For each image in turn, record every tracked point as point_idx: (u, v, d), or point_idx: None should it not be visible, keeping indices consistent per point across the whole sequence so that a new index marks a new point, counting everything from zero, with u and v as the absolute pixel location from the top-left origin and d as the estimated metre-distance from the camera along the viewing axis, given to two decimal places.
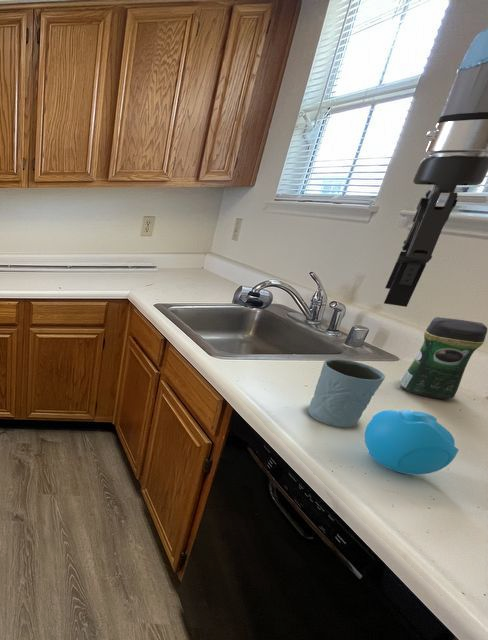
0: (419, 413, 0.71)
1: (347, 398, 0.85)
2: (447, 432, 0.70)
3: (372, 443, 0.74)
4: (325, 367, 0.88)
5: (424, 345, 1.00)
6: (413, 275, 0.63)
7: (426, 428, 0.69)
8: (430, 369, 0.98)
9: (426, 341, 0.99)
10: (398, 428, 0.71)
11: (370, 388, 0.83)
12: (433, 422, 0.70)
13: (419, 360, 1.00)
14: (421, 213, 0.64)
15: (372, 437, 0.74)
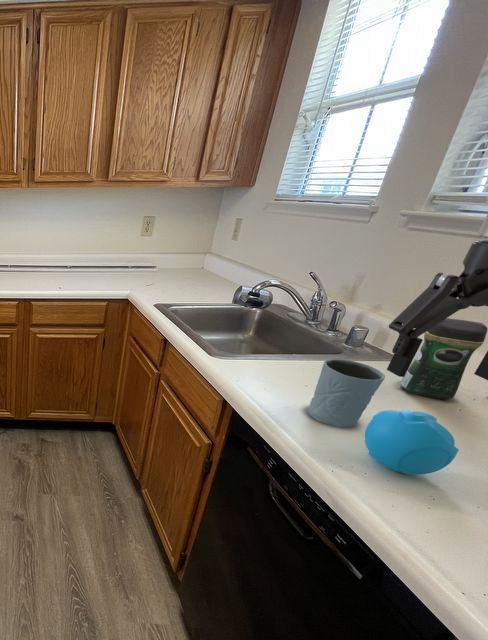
0: (419, 413, 0.71)
1: (347, 398, 0.85)
2: (447, 432, 0.70)
3: (372, 443, 0.74)
4: (325, 367, 0.88)
5: (424, 345, 1.00)
6: (400, 346, 0.67)
7: (426, 428, 0.69)
8: (430, 369, 0.98)
9: (426, 341, 0.99)
10: (398, 428, 0.71)
11: (370, 388, 0.83)
12: (433, 422, 0.70)
13: (419, 360, 1.00)
14: (451, 292, 0.64)
15: (372, 437, 0.74)
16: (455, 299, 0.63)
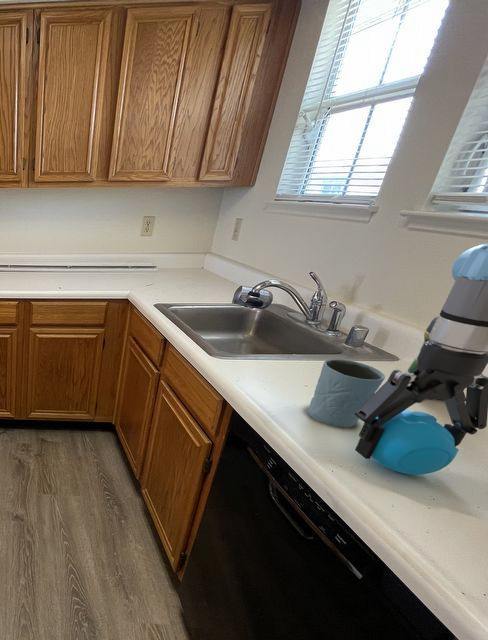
0: (419, 413, 0.71)
1: (347, 398, 0.85)
2: (447, 432, 0.70)
3: None
4: (325, 367, 0.88)
5: None
6: (365, 432, 0.73)
7: (426, 428, 0.69)
8: None
9: (426, 341, 0.99)
10: (398, 428, 0.71)
11: (370, 388, 0.83)
12: (433, 422, 0.70)
13: None
14: None
15: None
16: (411, 393, 0.70)
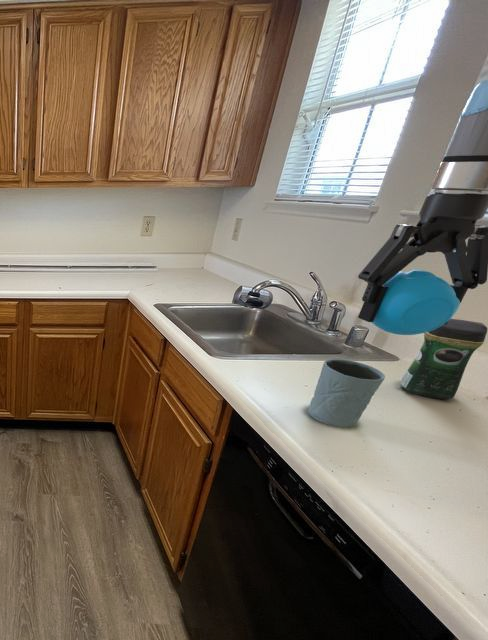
0: (421, 270, 0.72)
1: (347, 398, 0.85)
2: (449, 286, 0.70)
3: None
4: (325, 367, 0.88)
5: (424, 345, 1.00)
6: (369, 293, 0.74)
7: (429, 281, 0.70)
8: (430, 369, 0.98)
9: (426, 341, 0.99)
10: (401, 285, 0.72)
11: (370, 388, 0.83)
12: (435, 278, 0.71)
13: (419, 360, 1.00)
14: (409, 241, 0.72)
15: None
16: (413, 247, 0.70)
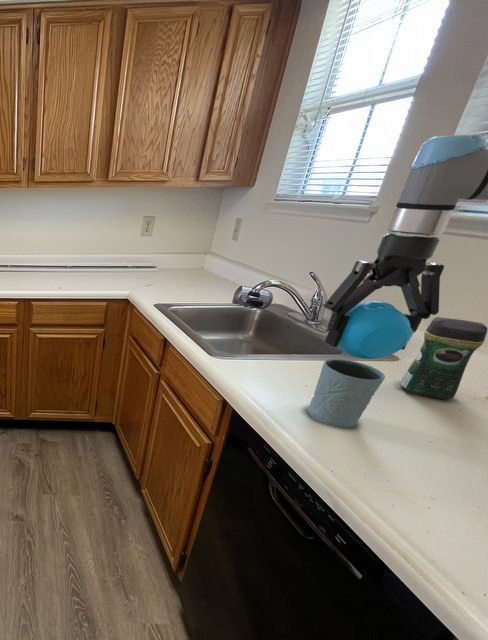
0: (379, 301, 0.80)
1: (347, 398, 0.85)
2: (403, 316, 0.79)
3: None
4: (325, 367, 0.88)
5: (424, 345, 1.00)
6: (333, 321, 0.82)
7: (385, 311, 0.78)
8: (430, 369, 0.98)
9: (426, 341, 0.99)
10: (361, 314, 0.80)
11: (370, 388, 0.83)
12: (391, 308, 0.79)
13: (419, 360, 1.00)
14: (369, 275, 0.80)
15: None
16: (372, 281, 0.79)
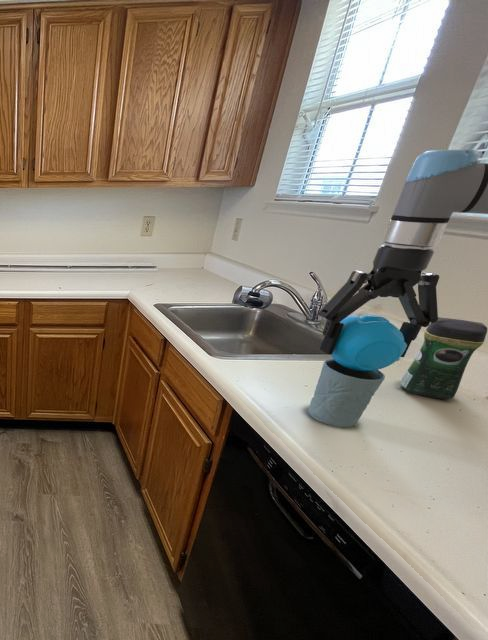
0: (373, 315, 0.81)
1: (347, 398, 0.85)
2: (397, 329, 0.80)
3: None
4: (325, 367, 0.88)
5: (424, 345, 1.00)
6: (327, 329, 0.83)
7: (378, 325, 0.79)
8: (430, 369, 0.98)
9: (426, 341, 0.99)
10: (355, 328, 0.81)
11: (370, 388, 0.83)
12: (385, 322, 0.80)
13: (419, 360, 1.00)
14: (365, 286, 0.81)
15: None
16: (367, 291, 0.80)
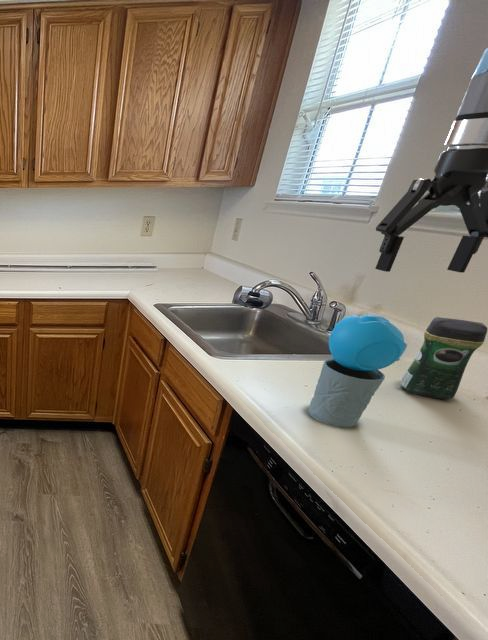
0: (373, 315, 0.81)
1: (347, 398, 0.85)
2: (397, 329, 0.80)
3: (334, 345, 0.85)
4: (325, 367, 0.88)
5: (424, 345, 1.00)
6: (386, 244, 0.80)
7: (378, 325, 0.79)
8: (430, 369, 0.98)
9: (426, 341, 0.99)
10: (355, 328, 0.81)
11: (370, 388, 0.83)
12: (385, 322, 0.80)
13: (419, 360, 1.00)
14: (425, 196, 0.78)
15: (333, 340, 0.85)
16: (429, 200, 0.76)
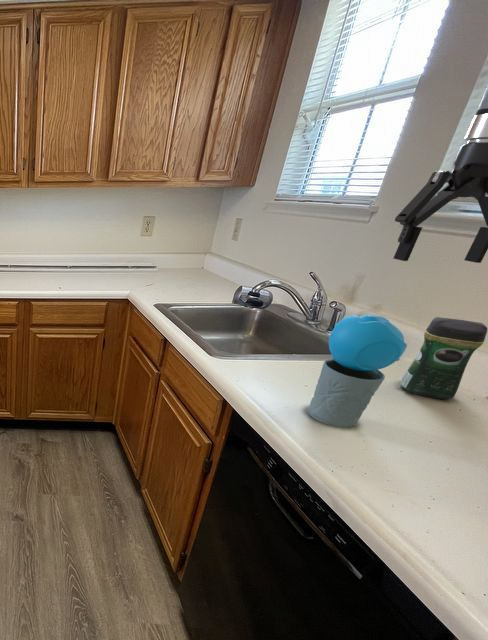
0: (373, 315, 0.81)
1: (347, 398, 0.85)
2: (397, 329, 0.80)
3: (334, 345, 0.85)
4: (325, 367, 0.88)
5: (424, 345, 1.00)
6: (404, 234, 0.83)
7: (378, 325, 0.79)
8: (430, 369, 0.98)
9: (426, 341, 0.99)
10: (355, 328, 0.81)
11: (370, 388, 0.83)
12: (385, 322, 0.80)
13: (419, 360, 1.00)
14: (444, 188, 0.80)
15: (333, 340, 0.85)
16: (448, 192, 0.79)
